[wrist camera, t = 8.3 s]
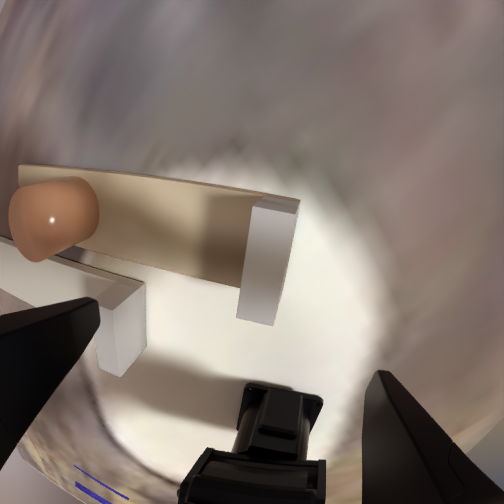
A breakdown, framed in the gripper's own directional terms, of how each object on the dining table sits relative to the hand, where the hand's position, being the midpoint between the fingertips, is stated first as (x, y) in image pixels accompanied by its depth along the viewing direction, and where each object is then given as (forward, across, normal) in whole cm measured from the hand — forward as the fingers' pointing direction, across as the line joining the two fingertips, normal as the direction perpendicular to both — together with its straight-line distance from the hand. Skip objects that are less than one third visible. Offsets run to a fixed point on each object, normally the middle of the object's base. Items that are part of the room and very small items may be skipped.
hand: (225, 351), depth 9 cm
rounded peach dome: (+10, +15, 0) cm, 18 cm away
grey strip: (+12, +21, +8) cm, 25 cm away
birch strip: (+12, +11, 0) cm, 16 cm away
